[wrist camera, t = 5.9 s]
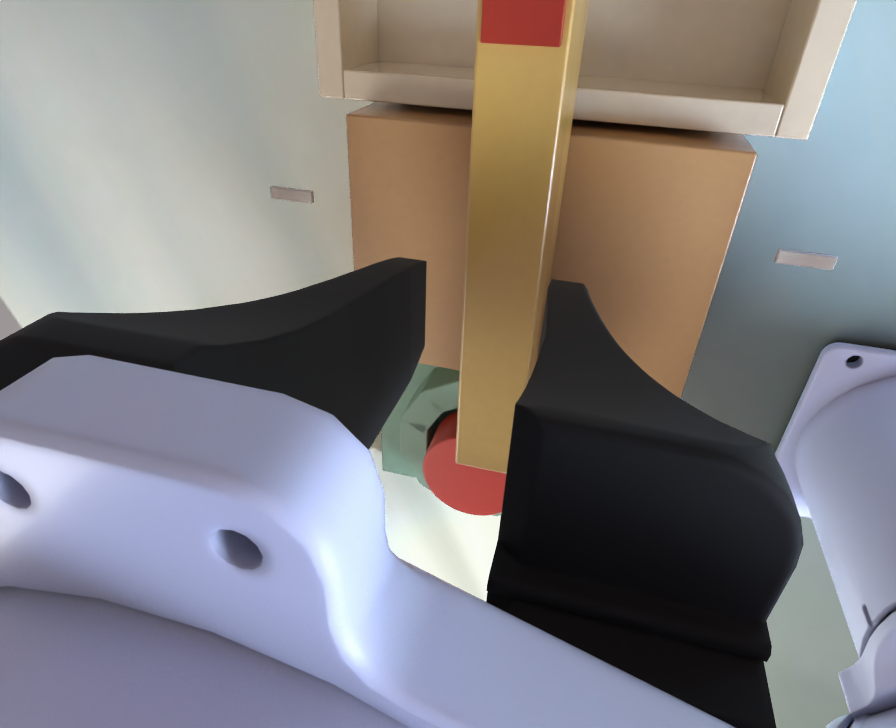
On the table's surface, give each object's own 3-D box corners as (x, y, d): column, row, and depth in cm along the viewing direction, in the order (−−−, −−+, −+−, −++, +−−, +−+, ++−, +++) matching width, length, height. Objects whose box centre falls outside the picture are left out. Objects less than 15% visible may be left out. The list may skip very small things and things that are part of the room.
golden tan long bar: (534, 397, 20) (514, 482, 16) (483, 388, 20) (452, 469, 17) (592, -25, 13) (578, -33, 10) (515, -28, 14) (475, -35, 10)
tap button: (535, 417, 23) (528, 449, 21) (524, 492, 25) (516, 525, 23) (437, 399, 24) (422, 428, 22) (434, 472, 26) (421, 503, 24)
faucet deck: (912, -109, 15) (1010, -145, 11) (721, 409, 23) (739, 489, 20) (314, -116, 18) (228, -146, 14) (344, 342, 27) (296, 400, 23)
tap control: (625, 353, 23) (625, 396, 21) (591, 497, 28) (587, 546, 25) (387, 314, 25) (361, 348, 23) (390, 454, 30) (368, 496, 27)
